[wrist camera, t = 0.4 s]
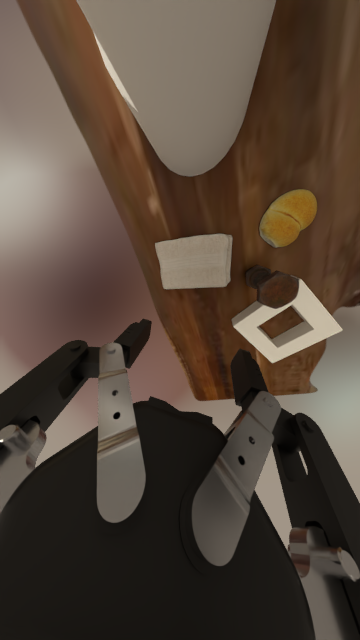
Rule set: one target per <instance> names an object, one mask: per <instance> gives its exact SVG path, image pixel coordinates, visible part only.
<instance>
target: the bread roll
mask: <svg viewBox="0 0 360 640" xmlns="http://www.w3.org/2000/svg"><path fill="white" fill-rule="evenodd" d="M316 212H317V202H316V198H315V196H314V195H313V194H312V192H310V191H308V190H304V189H298V190H293V191H290V192H287V193H285V194H283V195H282V196H280V197H279V198H277V199H276V200H275V201H274V202H273V203H272V204H271V205H270V207H269V208H268V210H267V211H266V213H265V214H264V215H263V217H262V220H261V222H260V226H259V231H260V236H261V237H262V238H263V239H264V240H265V241H266V242H267V243H268V244H270V245H272V246H273V247H275V248H277V247H283V246H287V245H289V244H290V243H292V242H293V241H294V240H295V239H296V238H297V237H298V235H299V232H300V231H301V230H302V229H304V228H306V227H307V226H309V225H310V224H311V222H312V221H313V219H314V217H315V215H316Z"/></svg>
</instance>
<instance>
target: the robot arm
mask: <svg viewBox="0 0 360 640" xmlns="http://www.w3.org/2000/svg"><path fill="white" fill-rule="evenodd" d="M150 330H151V321H149V320H146V319H142V320H141V321H140V323H137V322H135V323H133V324H131V325H130V326H129V327H128V328H127V329H126V330H125V331H124V332H123V333H122V334H121V335H120V336H119V337H118V338H117V339H116V340H115V341H114V342H113V343H108V344H105V345H103V346H102V347H88V345H87V343H86V342H85V341H81V340H75V341H71V342H68V343H66V344H65V345H64V346H62V347H61V348H60V349H58V350H57V351H56V352H54V353H53V354H52V355H51V356H49V357H48V358H47V359H45V360H44V361H43V362H41V363H40V364H39V365H38V366H36V367H35V368H34V369H32V370H31V371H30V372H29V373H27V374H26V375H25V376H23V377H22V378H21V379H19V380H18V381H17V382H15V383H14V384H13V385H12V386H10V387H9V388H8V389H7V390H5V391H4V392H3V393H1V394H0V640H360V503H359V501H358V499H357V497H356V495H355V493H354V491H353V490H352V488H351V486H350V484H349V482H348V480H347V478H346V476H345V475H344V473H343V471H342V469H341V467H340V465H339V463H338V461H337V459H336V457H335V456H334V454H333V452H332V450H331V448H330V446H329V444H328V442H327V441H326V439H325V437H324V435H323V433H322V431H321V429H320V428H319V426H318V425H317V424H316V423H315V422H314V421H313V420H312V419H311V418H310V417H308V416H307V415H305V414H303V413H297V414H295V415H292V414H291V413H289V412H287V411H286V410H284V409H283V408H281V406H280V404H279V402H278V401H277V400H276V398H275V397H274V396H273V395H271V394H270V393H269V392H268V390H267V387H266V384H265V381H264V379H263V376H262V373H261V371H260V368H259V365H258V364H257V362H256V361H255V360H254V359H252V357H251V354H250V352H249V351H245V350H242V349H239V350H238V352H237V353H236V355H235V357H234V358H233V360H232V362H231V375H232V382H233V389H234V396H235V402H236V405H238V406H241V407H242V411H241V412H240V413H239V415H238V416H237V417H236V419H235V420H234V421H233V423H232V424H231V426H230V427H229V429H228V430H227V431H226V432H225V434H223V433H222V432H221V431H220V430H219V429H218V428H217V427H216V426H215V425H214V424H212V417H209V416H206V415H203V414H201V413H198V412H182V411H179V410H177V409H176V408H174V407H173V406H171V405H170V404H168V403H167V402H165V401H163V400H160V399H157V398H154V397H151V396H150V398H149V401H140V402H136V403H132V398H131V392H130V386H129V380H128V374H127V370H126V369H125V367H126V368H130V367H131V366H132V364H133V363H134V361H135V360H136V358H137V357H138V355H139V353H140V352H141V350H142V349H143V347H144V346H145V344H146V342H147V341H148V339H149V336H150ZM88 378H98V381H99V382H98V384H99V385H98V426H97V427H95V428H94V429H92V430H91V431H89V432H88V433H86V434H85V435H83V436H82V437H80V438H79V439H77V440H76V441H74V442H73V443H71V444H70V445H68V446H67V447H65V448H63V449H62V450H60V451H59V452H57V453H56V454H54V455H53V456H51V457H50V458H48V459H47V460H45V461H44V462H42V463H41V464H40V465H39V466H37V467H36V468H35V464H36V460H37V458H38V455H39V454H40V452H41V451H42V449H43V447H44V445H45V443H46V434H45V431H46V430H47V429H48V427H49V426H50V425H51V424H52V423H53V421H54V420H55V419H56V418H57V416H58V415H59V414H60V412H62V410H63V409H64V408H65V407H66V405H67V404H68V403H69V402H70V400H71V399H72V398H73V397H74V396H75V394H76V393H77V392H78V391H79V389H80V388H81V387H82V386H83V384H84V383H85V382H86V381H87V380H88ZM271 445H272V448H273V452H274V456H275V460H276V464H277V468H278V473H279V476H280V480H281V484H282V489H283V493H284V497H285V501H286V505H287V509H288V513H289V518H290V522H291V525H292V530H291V531H290V535H289V543H290V544H289V545H288V551H287V549H286V548H285V546H284V544H283V542H282V540H281V538H280V536H279V535H278V533H277V531H276V529H275V527H274V526H273V524H272V522H271V520H270V518H269V516H268V514H267V512H266V511H265V509H264V507H263V505H262V503H261V501H260V500H259V498H258V496H257V494H256V492H255V490H254V489H255V486H256V484H257V481H258V479H259V476H260V473H261V471H262V468H263V466H264V463H265V461H266V458H267V456H268V453H269V451H270V448H271ZM299 451H301V453H302V455H303V458H304V460H305V463H306V466H307V469H308V475H307V474H306V471H305V469H304V466H303V463H302V461H301V458H300V455H299Z"/></svg>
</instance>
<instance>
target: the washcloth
mask: <svg viewBox="0 0 360 640" xmlns="http://www.w3.org/2000/svg"><path fill="white" fill-rule="evenodd" d="M232 239H233V238H232V236H231V235H225V234H213V235H199V236H193V237H187V238H180V239H175V240H168V241H162V242H159V243H155V248H156V252H157V256H158V259H159V262H160V267H161V271H160V272H161V279H162V283H163V288H164V289H167V290H168V289H182V288H191V289H192V288H203V287H225V286H227V284H228V283H229V282H230V280H231V279H230V266H231V251H232Z"/></svg>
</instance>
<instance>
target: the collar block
mask: <svg viewBox="0 0 360 640" xmlns="http://www.w3.org/2000/svg"><path fill="white" fill-rule="evenodd" d="M291 276H292V275H291ZM293 277H295V276H293ZM295 278H297V277H295ZM298 279H299V291H298V294H297V297H296V298H295V299H294V300H293V301H292V302H290V303H289V304H287V305H285V306H283V307H280V308H277V309H273V308H270V307H267V306H265V305H262V304H260V303H259V302H258V301H255V302H254V303H253V304H251V305H250V306H249V307H247V308H246V309H245V310H243V311H242V312H241V313H239V314H238V315H236V316H235V317H234V318H232V319H231V320H232V324H233V327H234V328H236V329H237V330H238V331H239V332H240V333H241V334H242V335H243V336H244V337H245V338H246V339H247V340H248V341H249V342H250V343H251V344H252V345H254V346H255V347H256V348H257V349H258V350H259V351H260V352H261V353H262V354H263V355H264V356H265V357H266V358H267V359H268V360H269V361H270V362H272V363H274V362H276V361H278V360H280V359H283V358H285V357H287V356H289V355H291V354H293V353H295V352H298V351H300V350H302V349H304V348H306V347H308V346H310V345H313V344H315V343H317V342H319V341H321V340H323V339H325V338H328V337H330V336H332V335H334V334H336V333H338V332H340V331H342V328H341V327H340V326H339V325H338V323H337V322H336V321H335V320H334V319H333V317H332V316H331V315H330V314H329V312H328V311H327V310H326V309H325V308H324V306H323V305H322V304H321V303H320V301H319V300H318V299H317V298H316V297H315V295H314V294H313V293H312V292H311V291H310V289H309V288H308V287H307V286H306V284H305V283H304V282H303V281H302V280H301V279H300V278H298ZM289 306H292V308H293V309H294V310H295V311H296V312H297V313H298V314H299V315H300V317H301V318H302V319H303V320H304V322H302V323H300V324H298V325H297V326H295V327H293V328H291V329H289V330H288V331H286V332H284V333H282V334H280V335H279V336H277V337H275V338H273V339H271V338H270V337H269V336H268V335H267V334H266V333H265V332H264V331H263V330H262V329H261V328H260V327H259V325H261V324H262V323H264V322H265V321H267V320H269V319H270V318H272V317H273V316H275V315H276V314H278V313H280V312H281V311H283V310H284V309H286V308H287V307H289Z"/></svg>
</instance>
